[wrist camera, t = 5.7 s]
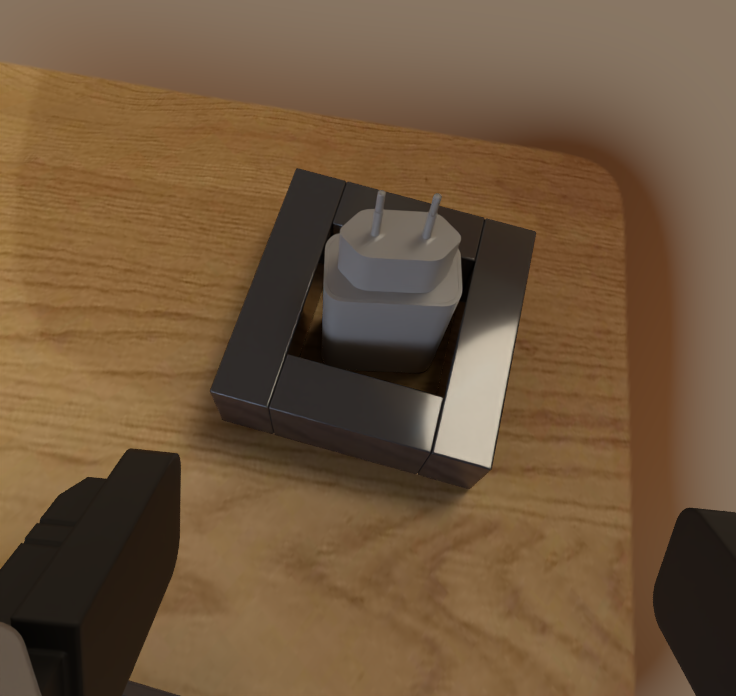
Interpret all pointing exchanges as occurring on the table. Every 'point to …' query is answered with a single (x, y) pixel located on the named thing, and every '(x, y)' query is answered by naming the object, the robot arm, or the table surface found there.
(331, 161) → the table surface
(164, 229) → the table surface
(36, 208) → the table surface
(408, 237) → the power adapter
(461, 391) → the block
